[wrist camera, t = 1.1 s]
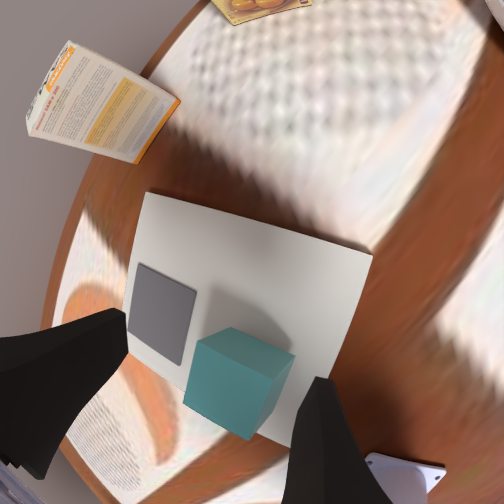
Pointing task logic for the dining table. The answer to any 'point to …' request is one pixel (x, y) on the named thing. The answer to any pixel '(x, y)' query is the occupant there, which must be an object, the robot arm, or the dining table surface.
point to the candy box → (255, 8)
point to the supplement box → (98, 106)
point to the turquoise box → (236, 380)
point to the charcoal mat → (161, 313)
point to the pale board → (250, 291)
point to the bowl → (497, 10)
